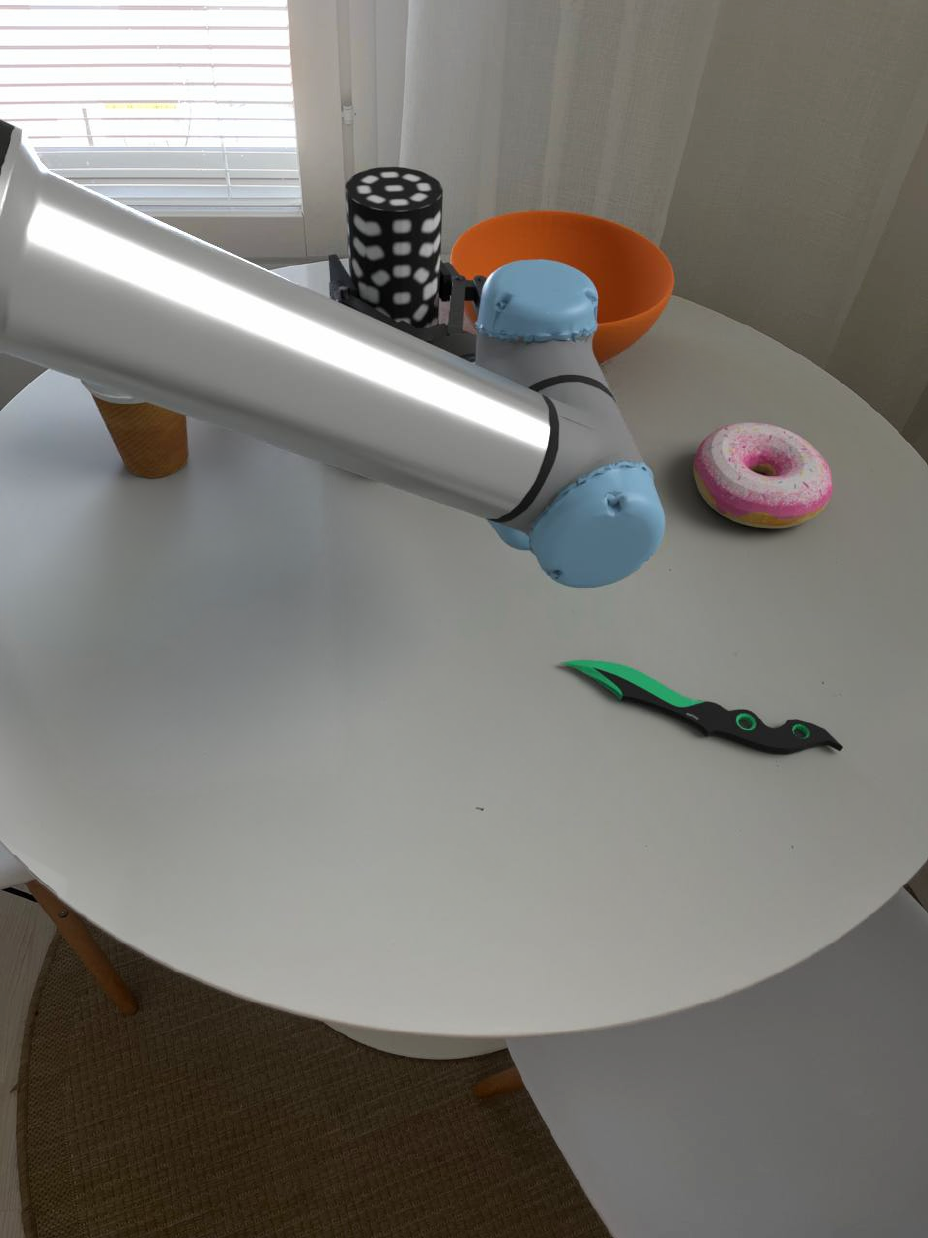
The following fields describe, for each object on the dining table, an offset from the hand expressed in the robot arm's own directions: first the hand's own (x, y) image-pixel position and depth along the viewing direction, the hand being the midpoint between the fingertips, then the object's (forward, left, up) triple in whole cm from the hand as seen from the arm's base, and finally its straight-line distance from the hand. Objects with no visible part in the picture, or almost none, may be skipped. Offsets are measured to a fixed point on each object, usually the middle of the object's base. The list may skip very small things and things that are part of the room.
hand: (378, 261), depth 87 cm
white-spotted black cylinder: (+4, -2, -11) cm, 12 cm away
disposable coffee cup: (-7, -24, -16) cm, 30 cm away
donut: (+35, +20, -16) cm, 44 cm away
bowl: (+3, +23, -16) cm, 29 cm away
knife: (+48, -6, -16) cm, 51 cm away
